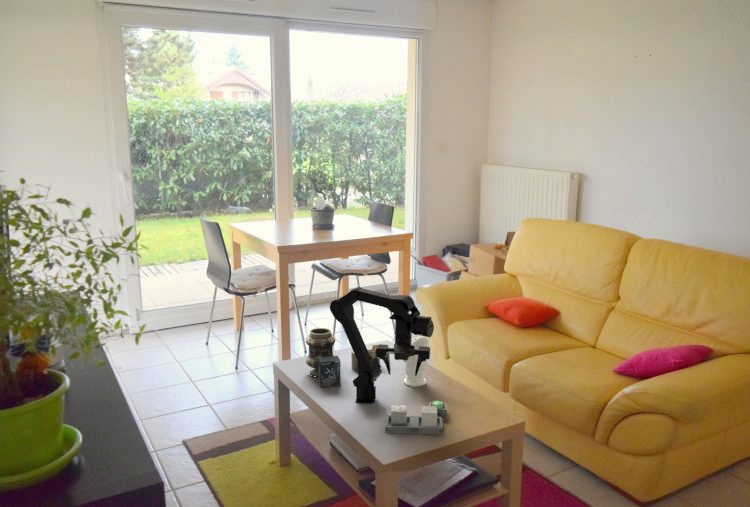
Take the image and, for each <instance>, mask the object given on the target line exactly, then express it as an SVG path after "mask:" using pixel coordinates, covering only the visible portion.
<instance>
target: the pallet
mask: <svg viewBox="0 0 750 507" xmlns="http://www.w3.org/2000/svg"><path fill="white" fill-rule="evenodd" d="M385 417H386V419H385V426H384V433H387V434H391V433H392V434H415V435H416V434H417V435H418V434H420V435H422V434H423V435H424V434H425V435H443V430H444V429H443V419H442V417H437V406H429V405H426V406H425V405H421V416H420V415H407V426H391V414H390V415H389V414H388V415H386V416H385Z"/></svg>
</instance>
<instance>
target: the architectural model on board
mask: <svg viewBox="0 0 750 507" xmlns="http://www.w3.org/2000/svg"><path fill="white" fill-rule="evenodd" d="M378 345H379V344H373V343H372V349H367V350H368V352H369V354H370V356H371V357H373V358H375V357H376V348H377V346H378ZM377 358H378V362H379V364H380V365H381V359H379V357H377ZM351 369H352V371H353V370H356V371H357V359H356V356H355V354H354V352H353V351H351Z"/></svg>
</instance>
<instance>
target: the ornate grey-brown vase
mask: <svg viewBox="0 0 750 507" xmlns="http://www.w3.org/2000/svg"><path fill="white" fill-rule="evenodd" d="M331 330H332V329H330V328H327V327H316V328H312V329H310V331H309V334H308V335H307V336H306V338H305V343H306V345H307V346H308V355H307V356H306V358H305V364H306V365H307V366H308V367H310V368H312V369H311V370H310V371H309V372H310V375H312V376H316V377H319V368H318V367H319V366H318V357H330V356H335V354H334V353H333V352H334V351H333V345H334V344H335V343H336V337H335V336H334V335H333V334H332V331H331ZM310 375H309V376H310ZM312 376H311V377H312Z"/></svg>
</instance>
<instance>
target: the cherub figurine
mask: <svg viewBox="0 0 750 507" xmlns="http://www.w3.org/2000/svg"><path fill="white" fill-rule="evenodd" d="M413 335H414V334H413V333H412V340H411V346H414V347H415V349H419V346H425V347H428V345H429V341H430V340H429V337H425V336H419V335H415V337H414V338H413ZM417 359H418V355H414V356H411V357H409V359H408V360H402V361H403V362H404V363H405V366H404V372H405V374H406V375H405V378H404V379H403V383H404V385H405V386H407V387H413V388H417V387H423V386H425V385H427V380H426V378H425V372H426V370H428V369H429V364H428V359H426V361H423V362H422V363H421V365H420V367H419V370H418V373H417V376H415V371H416V365H417Z"/></svg>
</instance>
